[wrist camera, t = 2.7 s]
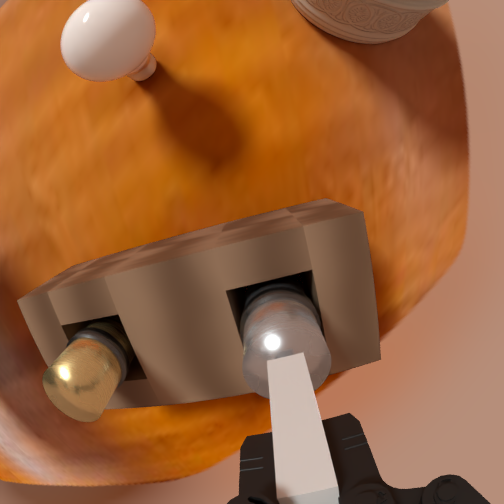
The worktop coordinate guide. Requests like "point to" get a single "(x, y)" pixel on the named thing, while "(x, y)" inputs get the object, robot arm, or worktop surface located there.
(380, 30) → the jar
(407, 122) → the worktop surface
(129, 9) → the lightbulb
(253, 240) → the socket block
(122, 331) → the brass peg
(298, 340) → the steel peg
